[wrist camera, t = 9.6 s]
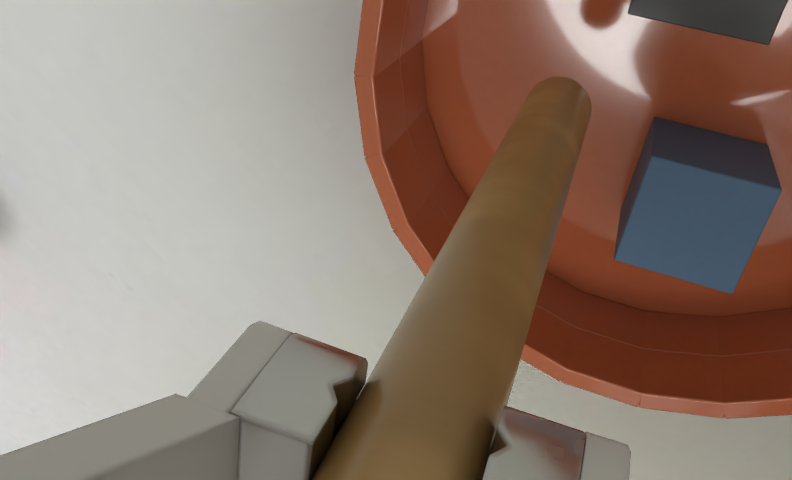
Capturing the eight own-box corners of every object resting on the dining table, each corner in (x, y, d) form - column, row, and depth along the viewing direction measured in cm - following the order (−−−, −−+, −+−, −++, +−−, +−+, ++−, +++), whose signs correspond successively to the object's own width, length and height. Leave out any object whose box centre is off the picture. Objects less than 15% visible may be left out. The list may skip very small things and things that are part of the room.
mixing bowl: (1303, -254, 18) (1545, -289, 13) (878, 388, 29) (921, 502, 24) (471, -358, 22) (412, -416, 17) (377, 235, 33) (325, 305, 28)
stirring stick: (599, 84, 19) (366, 896, 4) (581, 146, 20) (336, 987, 5) (534, 68, 20) (114, 767, 5) (518, 129, 21) (125, 877, 6)
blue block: (768, 144, 26) (783, 189, 22) (725, 240, 28) (732, 295, 24) (653, 115, 26) (650, 155, 23) (620, 211, 28) (613, 260, 25)
